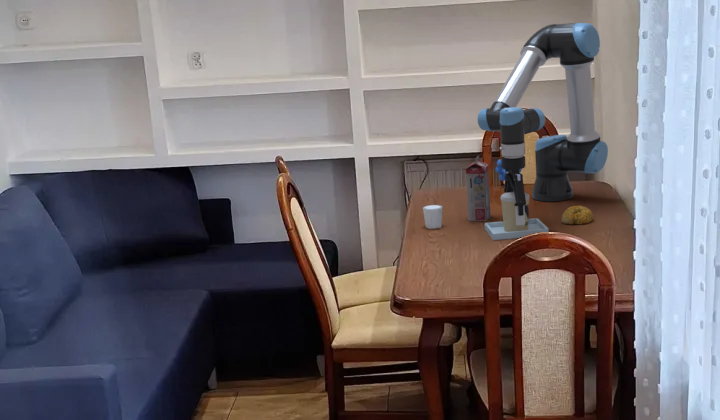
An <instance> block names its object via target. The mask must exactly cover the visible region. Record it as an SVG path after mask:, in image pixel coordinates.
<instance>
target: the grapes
mask: <svg viewBox="0 0 720 420" xmlns="http://www.w3.org/2000/svg"><path fill="white" fill-rule="evenodd" d="M496 165H497V166H496V167H495V169H494V170H495V172H496V174H498V180H500V181H502V182H505V174H506V171H505V169H503V168H502V159H497V161H496ZM522 170H523V169H520V170H519V172H520V174H522V173H521V172H522Z"/></svg>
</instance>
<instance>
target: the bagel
mask: <svg viewBox="0 0 720 420" xmlns="http://www.w3.org/2000/svg"><path fill="white" fill-rule="evenodd" d="M592 220H593V212H592V210H591V209H590V208H589V207H587V206H584V205H583V206H582V205H572V206H569V207H568V208H566V209H565V210H564V212H563V213H562V215H561V223H562V224H563V225H564V224H565V225H574V224H575V225H585V224H586V225H587V224H589V223H590V222H592Z"/></svg>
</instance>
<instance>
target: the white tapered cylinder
mask: <svg viewBox="0 0 720 420" xmlns="http://www.w3.org/2000/svg"><path fill="white" fill-rule="evenodd" d="M422 212H423V218H424V219H423V220H424V224H425V228H427V229H430V230H431V229H434V230H435V229H440V228H441V227H442V226H443V205H440V204H430V205H429V204H428V205H425V206H423V207H422Z"/></svg>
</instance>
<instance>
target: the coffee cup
mask: <svg viewBox="0 0 720 420" xmlns="http://www.w3.org/2000/svg"><path fill="white" fill-rule="evenodd" d="M525 199H526V205H524V209H525V225H516V207H515V206H514V204H515V203H516V200H515V195H514V192H508V193H505V192H504V193H502V194H501V195H500V202H501V213H502V214H501V215H502V219H503V223H504V230H505V232H513V231H523V230H528V221H529V219H530V218H529V216H530V215H529V214H530V195H529V193H527V192H525Z"/></svg>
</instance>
